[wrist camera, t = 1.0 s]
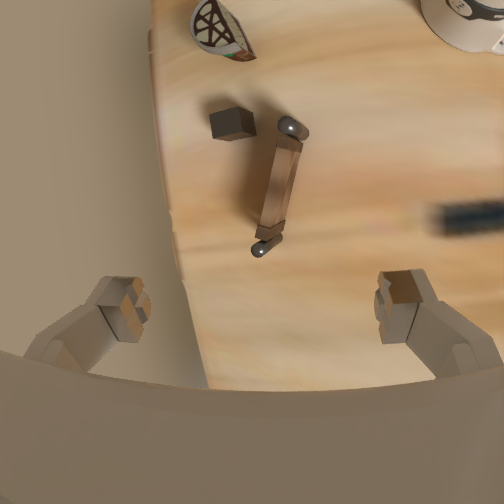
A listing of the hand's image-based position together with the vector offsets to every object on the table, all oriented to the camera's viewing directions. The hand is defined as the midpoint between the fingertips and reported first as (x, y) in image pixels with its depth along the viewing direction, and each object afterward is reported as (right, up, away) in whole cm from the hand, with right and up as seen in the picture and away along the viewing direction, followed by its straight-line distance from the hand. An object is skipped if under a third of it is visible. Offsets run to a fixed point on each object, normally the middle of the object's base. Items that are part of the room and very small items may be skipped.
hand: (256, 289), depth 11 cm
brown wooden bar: (+6, +12, +39) cm, 41 cm away
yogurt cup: (-4, +38, +37) cm, 53 cm away
